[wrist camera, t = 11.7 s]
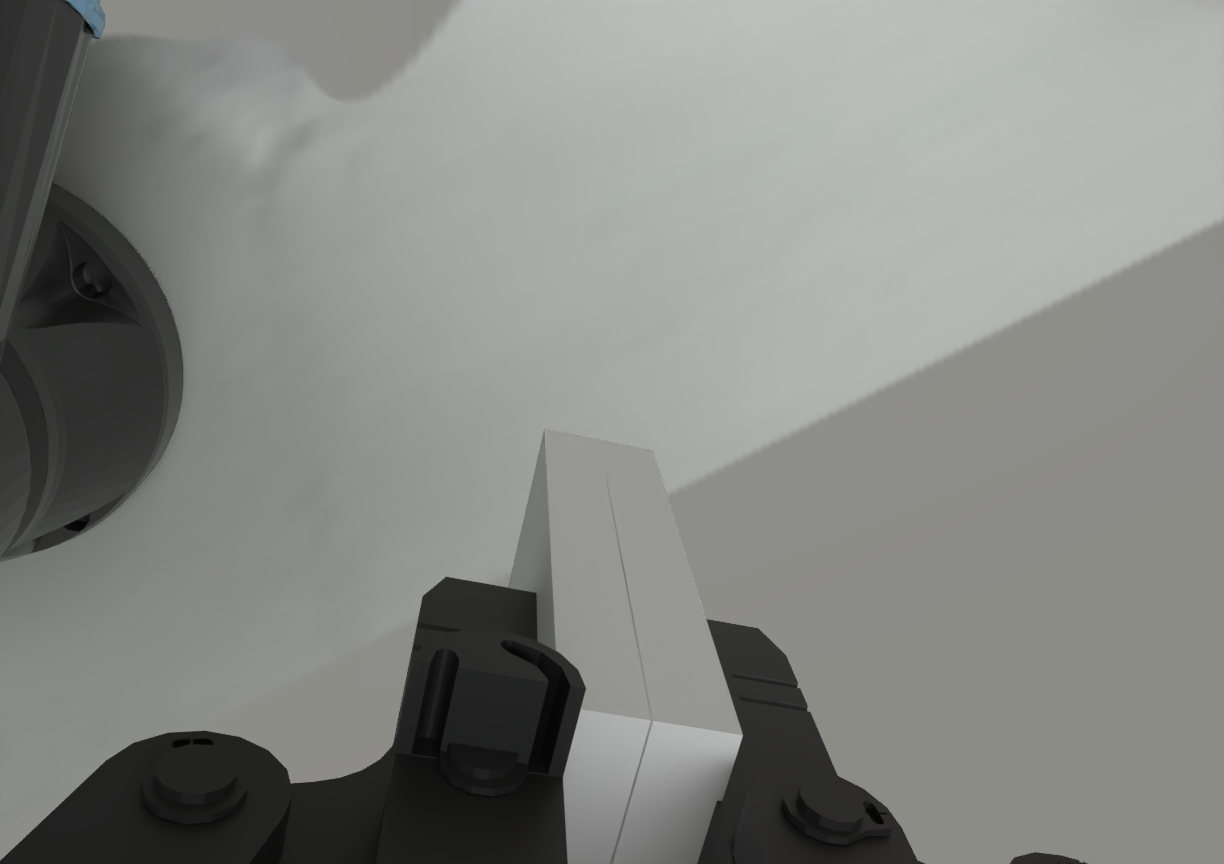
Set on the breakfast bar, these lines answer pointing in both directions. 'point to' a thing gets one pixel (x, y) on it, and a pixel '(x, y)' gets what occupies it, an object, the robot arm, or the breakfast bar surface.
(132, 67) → the breakfast bar surface
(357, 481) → the breakfast bar surface
